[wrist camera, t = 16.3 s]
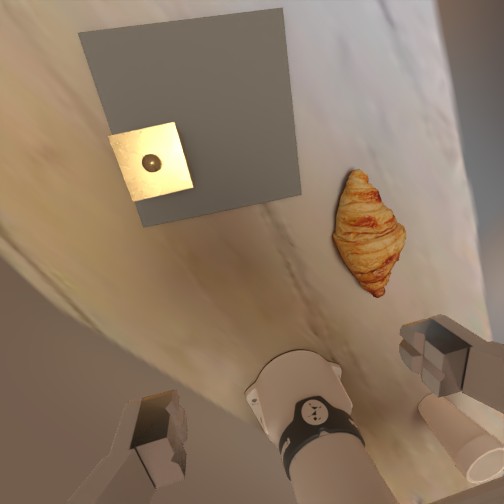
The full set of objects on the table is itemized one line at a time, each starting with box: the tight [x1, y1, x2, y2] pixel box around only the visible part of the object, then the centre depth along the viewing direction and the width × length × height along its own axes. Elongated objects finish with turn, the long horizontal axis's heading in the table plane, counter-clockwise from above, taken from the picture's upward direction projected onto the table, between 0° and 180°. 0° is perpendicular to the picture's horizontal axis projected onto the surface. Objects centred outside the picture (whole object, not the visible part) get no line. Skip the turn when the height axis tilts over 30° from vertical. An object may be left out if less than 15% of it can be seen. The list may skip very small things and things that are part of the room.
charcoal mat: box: [78, 8, 301, 228], centre depth 32 cm, size 21×22×1 cm
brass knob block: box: [108, 122, 195, 202], centre depth 28 cm, size 6×6×9 cm
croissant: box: [333, 169, 406, 298], centre depth 39 cm, size 21×10×8 cm, turn 20°
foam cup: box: [418, 393, 504, 483], centre depth 53 cm, size 10×9×13 cm
